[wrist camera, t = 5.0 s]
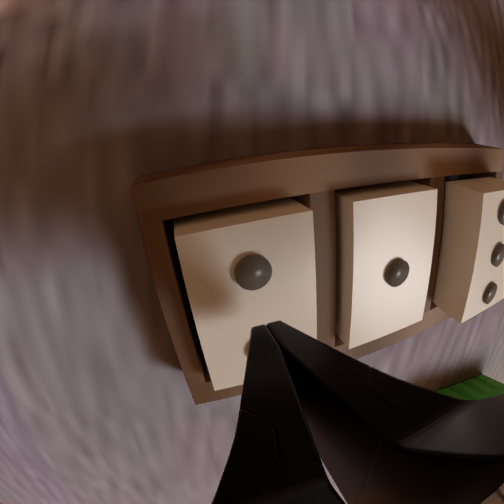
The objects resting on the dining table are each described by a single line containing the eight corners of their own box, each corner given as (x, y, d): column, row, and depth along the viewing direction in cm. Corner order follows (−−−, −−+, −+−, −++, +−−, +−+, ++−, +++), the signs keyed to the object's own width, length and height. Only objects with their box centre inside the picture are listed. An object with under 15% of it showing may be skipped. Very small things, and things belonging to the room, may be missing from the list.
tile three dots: (490, 176, 12) (525, 187, 10) (476, 281, 14) (505, 299, 12) (445, 181, 11) (486, 194, 9) (432, 301, 14) (462, 325, 11)
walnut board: (475, 143, 13) (502, 149, 11) (461, 286, 17) (482, 299, 15) (138, 177, 10) (130, 186, 8) (190, 373, 14) (195, 404, 12)
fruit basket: (493, 361, 24) (557, 420, 13) (453, 421, 26) (504, 480, 16) (434, 380, 20) (517, 469, 10) (387, 447, 23) (444, 530, 13)
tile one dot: (402, 178, 12) (440, 190, 10) (395, 298, 14) (423, 321, 12) (322, 189, 11) (355, 203, 9) (325, 321, 14) (350, 351, 12)
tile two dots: (286, 195, 11) (314, 211, 9) (296, 332, 13) (318, 365, 11) (173, 217, 10) (174, 239, 8) (206, 354, 13) (215, 393, 10)
